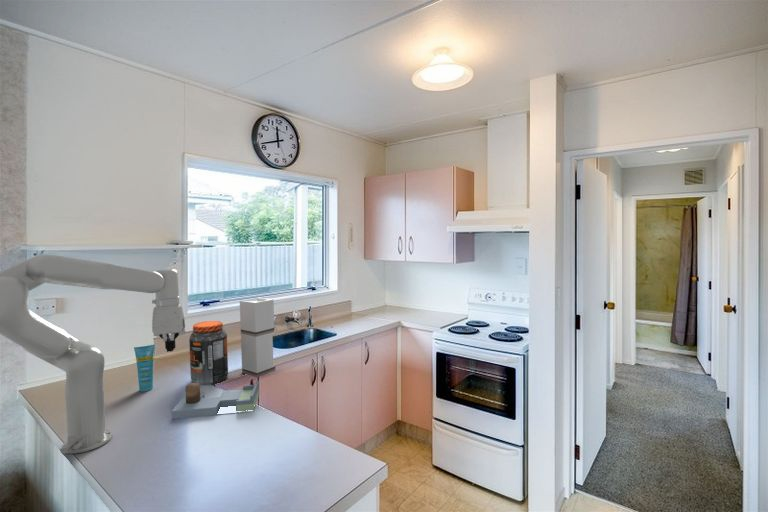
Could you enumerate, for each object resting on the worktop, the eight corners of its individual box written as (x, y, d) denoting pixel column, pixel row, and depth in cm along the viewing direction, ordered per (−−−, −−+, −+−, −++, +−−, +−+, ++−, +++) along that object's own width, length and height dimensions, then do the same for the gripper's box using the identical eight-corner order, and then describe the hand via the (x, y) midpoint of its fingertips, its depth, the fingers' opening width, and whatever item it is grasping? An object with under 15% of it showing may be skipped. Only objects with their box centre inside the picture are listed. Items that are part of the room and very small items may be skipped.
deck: (253, 411, 141) (252, 395, 140) (172, 419, 136) (171, 402, 135) (259, 395, 156) (258, 380, 155) (186, 401, 150) (185, 386, 150)
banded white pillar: (275, 370, 184) (273, 299, 182) (257, 377, 175) (254, 302, 173) (260, 366, 190) (258, 297, 189) (242, 372, 182) (239, 300, 180)
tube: (136, 393, 159) (133, 348, 158) (136, 389, 163) (133, 345, 162) (156, 389, 163) (154, 345, 162) (156, 385, 167) (154, 342, 166)
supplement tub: (187, 378, 175) (184, 323, 174) (222, 370, 185) (220, 318, 184) (196, 388, 163) (193, 329, 162) (233, 379, 173) (231, 323, 172)
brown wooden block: (198, 403, 142) (197, 387, 142) (184, 404, 141) (183, 388, 141) (202, 397, 147) (201, 382, 146) (188, 398, 146) (187, 383, 146)
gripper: (141, 305, 135) (144, 355, 137) (186, 303, 138) (188, 352, 139) (150, 301, 143) (153, 349, 144) (192, 299, 146) (195, 346, 147)
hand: (170, 350), depth 142 cm, fingers closed
